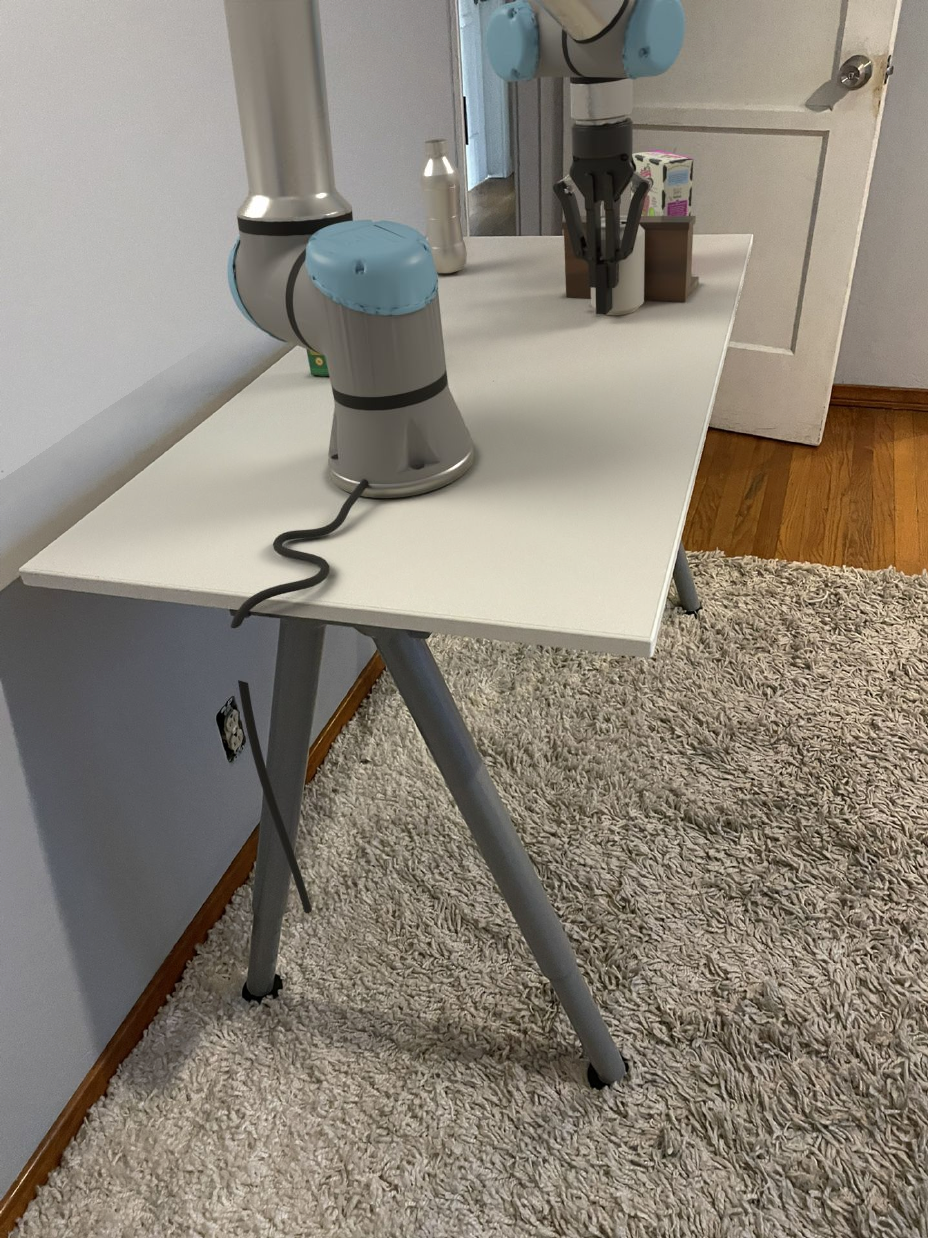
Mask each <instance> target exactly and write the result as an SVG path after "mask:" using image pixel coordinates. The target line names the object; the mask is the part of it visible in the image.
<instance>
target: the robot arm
mask: <svg viewBox="0 0 928 1238" xmlns="http://www.w3.org/2000/svg"><path fill="white" fill-rule="evenodd" d="M319 1H320V0H223V6H224V14H225V21H226V29H227V37H228V44H229V50H230V51H229V52H230V59H231V66H232V74H233V81H234V90H235V96H236V104H237V105H236V106H237V110H238V111H237V112H238V118H239V125H240V134H241V141H242V147H243V156H244V163H245V171H246V178H247V185H248V192H247V195H246V198H244V200H243V202H242V203H241V204H240V205H239V207H238V208H237V209H236V220H237V226H238V234H239V235H238V236H237V238H236V240H235V241H236V242H235V243H234V245H233V247H232V248H231V249H230V251H229V254H228V255H229V256H228V260H227V282H228V288H229V291H230V294H231V297H232V299H233V301H234V303H235V305H236V307H237V308H238V310H239V311H240V313H241V314H242V316H243V317H245V319H246V320H247V321H248V322H249V323H250V324H252V325H253V326H255V327H256V328H257V329H259V330H261V331H262V332H263V333H265V334H267V335H268V336H269V337H270V338H274V340H275V339H276V340H277V341H279V342H283V343H289V344H292V345H294V346H298V347H301V348H303V349H308V350H311V351H314V352H316V353H319V354H322V355H324V356H325V357H326V361H327V366H328V371H329V376H328V377H329V381H330V386H331V391H332V395H333V403H334V407H333V414H332V415H333V416H332V424H331V430H330V437H329V446H328V453H327V454H328V455H327V456H328V457H327V458H328V459H327V462H328V463H327V464H328V467H329V468H328V469H329V472H330V477H331V480H332V482H333V483H334V484H335V485H336V486H337V487H338V488H340V489H341V490H343V491H345V492H347V493H349V494H350V495H349V496H348V497H347V499H346V500H345V501H344V503H343V504H342V506H341V508H340V510H339V512H338V514H337V515H336V517H335V518H334V520H332V521H331V522H330V523H329V524H327V525H325V526H321V527H317V528H310V529H296V530H295V529H294V530H289V531H285V532H282V533H280V534H279V535H277V537H275V539H274V541H273V543H272V548H273V550H274V551H275V553H277V554H278V555H280V556H282V557H285V558H290V559H293V560H298V561H302V562H307V563H310V564H312V565H315V566H316V567H319V571H318V572H317V573H316V574H314V575H312V576H310V577H307V578H304V579H300V580H296V581H290V582H286V583H282V584H278V585H275V586H271V587H268V588H265V589H263V590H261V591H259V592H256V593H255V594H253V595H252V596H250V597H249V598H248V599H246V600H245V601H244V602H243V603H242V604H241V605H240V607H239V608H238V609H237V611H236V612H235V614H234V616H233V618H232V621H231V624H230V628H231V629H236V628H239V627H241V626H242V624H243V622H244V620H245V619H246V617H247V615H248V614H249V612H250V611H251V610H252V609H254V607H256V606H257V605H259V604H261V603H263V602H264V601H266V600H269V599H271V598H274V597H277V596H281V595H285V594H288V593H294V592H298V591H303V590H306V589H310V588H312V587H315V586H317V585H320V584H321V583H322V582H323V581H324V580H326V579H327V578H328V575H329V574H330V565H329V563H328V561H327V560H326V559H325V558H323V557H321V556H318V555H316V554H313V553H309V552H304V551H300V550H295V549H292V548H288V547H285V546H283V544H284V543H285V542H287V541H290V540H297V539H298V540H299V539H311V538H312V539H313V538H319V537H323V536H326V535H329V534H331V533H333V532H335V531H336V530H338V529H339V528H340V527H341V526H342V525H343V523H344V522H345V520H346V519H347V516H348V514H349V513H350V511H351V509H352V508H353V505H354V504H356V502H357V500H358V499H359V498H360V497H366V498H374V499H375V498H376V499H393V498H395V499H396V498H403V497H405V498H406V497H410V496H411V497H413V496H416V495H421V494H425V493H428V492H433V491H436V490H438V489H440V488H443V487H445V486H447V485H449V484H451V483H453V482H455V481H456V480H458V479H459V478H461V477H462V476H463V475H464V474H465V473H467V472H468V471H469V469H470V468H471V466H472V465H473V462H474V458H475V453H474V444H473V438H472V436H471V433H470V430H469V429H468V427H467V425H466V423H465V421H464V418H463V416H462V414H461V411H460V409H459V407H458V405H457V403H456V401H455V399H454V396H453V394H452V392H451V390H450V386H449V381H448V379H449V378H448V371H447V362H446V354H445V353H446V352H445V344H444V334H443V325H442V314H441V306H440V305H441V304H440V295H439V276H438V273H436V270H435V265H434V260H433V256H432V251H431V248H430V245H429V243H428V239H427V238H426V237H425V236H424V235H423V234H422V233H421V232H420V231H419V230H417V229H415V228H414V227H411V226H409V225H407V224H404V223H401V222H397V221H392V220H379V221H373V220H371V219H357V220H355V219H354V217H353V206H352V204H350V202H349V201H348V200H347V199H346V198H345V197H344V196H343V195H342V194H341V193H340V192H339V191H338V190H337V188H336V182H335V170H334V159H333V158H334V157H333V149H332V148H333V147H332V136H331V135H332V134H331V126H330V114H329V104H328V103H329V101H328V91H327V90H328V89H327V81H326V80H327V79H326V67H325V57H324V47H323V46H324V45H323V33H322V23H321V13H320V12H321V11H320V2H319ZM685 35H686V17H685V12H684V8H683V4H682V2H681V1H680V0H515V1H511V2H508V3H504V4H502V5H499V6H498V7H497V8H496V9H495V10H494V12H493V13H492V14H491V16H490V18H489V20H488V23H487V26H486V31H485V46H486V55H487V58H488V59H487V60H488V62H489V64H490V66H491V68H492V70H493V71H494V73H495V74H496V75H497V76H498V77H499V79H501V80H503V81H505V82H507V83H515V82H531V81H532V80H534V79H541V78H569V83H570V84H569V85H570V89H569V90H570V91H569V92H570V118H572V120H573V121H575V122H574V123H573V124H572V126H571V129H570V130H571V156H572V161H571V165H570V167H569V172H568V173H569V174H567V175H566V176H565V177H564V178H563V179H560V180H559V181H557V182H556V183H554V185H553V186H552V190H553V192H554V193H555V195H556V197H557V198H558V200H559V202H560V204H561V208H562V212H563V215H564V216H563V217H564V220H566V224H567V228H568V232H569V236H570V240H571V244H572V248H573V252H574V256H575V258H576V259H582V260H585V261H586V262H587V263H588V271H589V286H590V288H595V289H596V309H595V315H605V314H607V313H608V312H609V311H610V310H611V309H612V288H615V287H616V286H617V285H618V283H619V261H621V260H625V259H626V258H627V257H629V256H630V255H631V254H632V252H633V249H634V245H635V240H636V236H637V232H638V227H639V223H640V219H641V215H642V210H643V206H644V202H645V197H646V196H647V194H648V192H649V191H650V189H651V187H652V186H653V184H654V181H653V179H652V178H650V177H648V178H645V177H644V176H642V175H641V174H640V173H638V172H637V171H636V164H635V162H634V160H633V156H632V154H633V151H634V148H633V144H634V143H633V142H634V141H633V139H634V137H633V136H634V135H633V133H634V132H633V131H634V127H633V126H634V125H633V124H634V123H633V120H632V118H630V117H629V116H630V115H631V114H632V112H633V109H634V108H633V104H634V101H633V100H634V99H633V97H634V80H637V79H638V78H648V77H649V78H650V77H658V76H661V75H663V74H665V73H666V72H668V71H669V70H670V69H671V68H672V66H673V65H674V64H675V62H676V61H677V59H678V56H679V55H680V51H681V49H682V48H683V44H684V40H685ZM631 182H632V187H631V186H630V192H631V191H632V193H634V195H633V197H632V199H631V198H630V203H629V207H628V212H627V215H626V216H627V220H626V225H625V229H624V234H623V238H622V243H621V247H620V216H621V204H622V195H623V193H624V192H625V190H627V188H628V186H629V184H631ZM576 188H577V189H578V191H579V192H580V194H581V195H582V197H583V198H584V210H585V216H586V232H587V241H586V237H585V232H584V228H583V224H582V220H581V216H582V215H581V212H580V207H579V204H578V199H577V197H576V194H575V191H576ZM602 204H603V209H604V216H605V238H606V260H600V258H601V257H602V254H601V216H602ZM237 684H238V689H239V696H240V703H241V708H242V714H243V719H244V722H245V723H244V724H245V729H246V733H247V737H248V741H249V745H250V749H251V754H252V758H253V761H254V764H255V769H256V772H257V775H258V779H259V782H260V786H261V788H262V791H263V795H264V798H265V801H266V804H267V808H268V809H269V812H270V815H271V818H272V821H273V824H274V827H275V830H276V832H277V835H278V838H279V840H280V844H281V846H282V849H283V852H284V854H285V857H286V860H287V863H288V866H289V869H290V871H291V874H292V877H293V881H294V883H295V886H296V889H297V893H298V895H299V899H300V902H301V906H302V909H303V912H304V913H305V914H311V912H312V911H313V909H312V906H311V902H310V899H309V895H308V892H307V888H306V885H305V882H304V879H303V876H302V872H301V869H300V866H299V864H298V861H297V858H296V855H295V852H294V849H293V847H292V844H291V841H290V838H289V835H288V832H287V829H286V827H285V824H284V821H283V818H282V815H281V811H280V809H279V806H278V803H277V800H276V797H275V794H274V790H273V788H272V785H271V780H270V777H269V774H268V771H267V767H266V764H265V760H264V756H263V752H262V748H261V744H260V739H259V735H258V731H257V726H256V721H255V720H256V719H255V716H254V715H255V714H254V711H253V704H252V700H251V692H250V686H249V682H247V681H243V680H237Z"/></svg>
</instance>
